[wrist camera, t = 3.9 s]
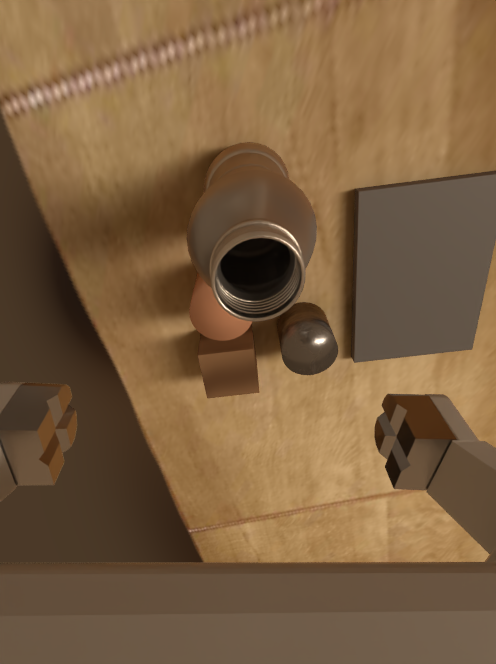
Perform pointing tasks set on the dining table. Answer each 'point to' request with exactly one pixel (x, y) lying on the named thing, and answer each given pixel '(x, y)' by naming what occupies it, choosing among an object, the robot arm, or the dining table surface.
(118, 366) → the dining table surface
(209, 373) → the walnut block
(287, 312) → the dark metal tin
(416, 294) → the charcoal board
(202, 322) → the terracotta jar
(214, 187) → the plastic bottle
